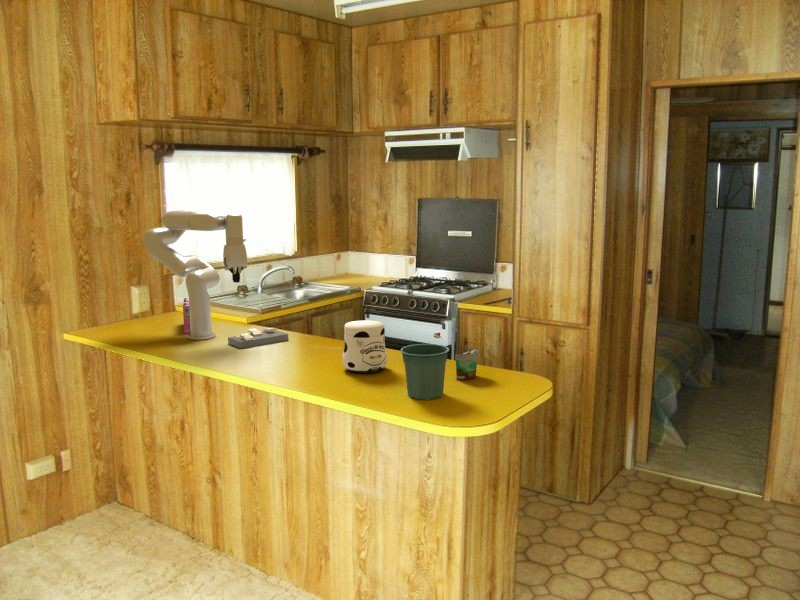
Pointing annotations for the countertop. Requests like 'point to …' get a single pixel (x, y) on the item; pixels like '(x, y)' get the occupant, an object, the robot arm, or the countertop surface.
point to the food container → (466, 365)
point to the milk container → (364, 346)
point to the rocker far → (269, 329)
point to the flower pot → (425, 370)
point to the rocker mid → (255, 332)
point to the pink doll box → (186, 316)
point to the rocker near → (246, 336)
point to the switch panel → (258, 339)
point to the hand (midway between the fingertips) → (236, 282)
